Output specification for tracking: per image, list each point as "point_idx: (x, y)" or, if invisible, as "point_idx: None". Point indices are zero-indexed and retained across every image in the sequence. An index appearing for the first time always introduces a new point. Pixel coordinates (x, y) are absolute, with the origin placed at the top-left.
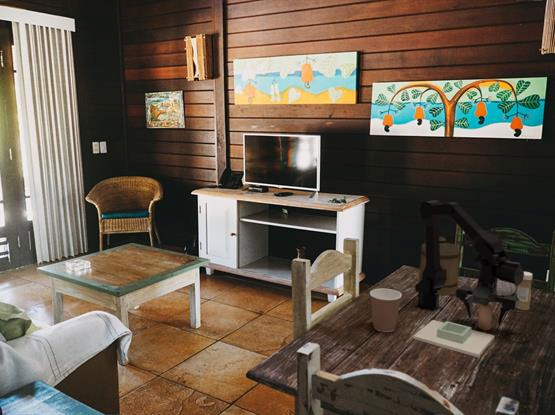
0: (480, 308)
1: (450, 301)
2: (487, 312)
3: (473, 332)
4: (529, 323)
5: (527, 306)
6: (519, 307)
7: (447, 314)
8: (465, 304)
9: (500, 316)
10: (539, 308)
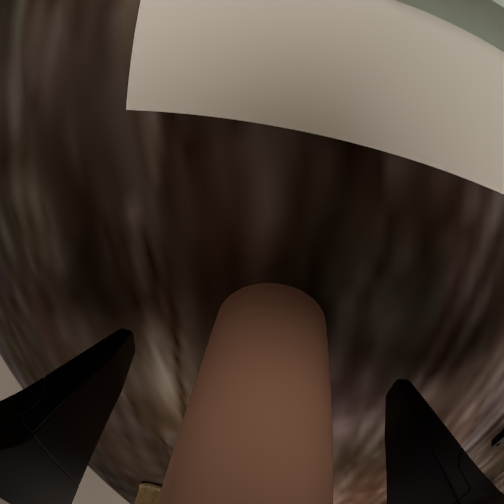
0: (317, 502)
1: None
2: (208, 453)
3: (370, 76)
4: None
5: (139, 493)
6: None
7: (491, 396)
8: (490, 488)
9: (61, 391)
10: (123, 484)
